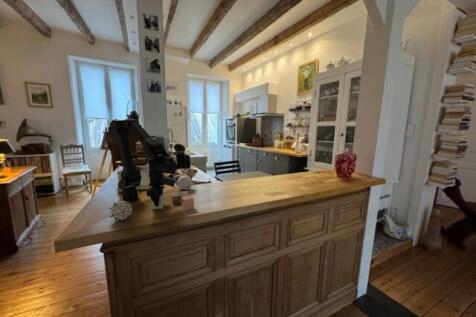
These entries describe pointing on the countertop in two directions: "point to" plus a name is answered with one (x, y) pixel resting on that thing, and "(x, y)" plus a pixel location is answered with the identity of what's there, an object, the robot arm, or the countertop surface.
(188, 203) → the terracotta block
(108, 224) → the countertop surface
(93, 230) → the countertop surface
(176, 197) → the walnut base
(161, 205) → the sage block
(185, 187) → the die
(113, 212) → the game die
